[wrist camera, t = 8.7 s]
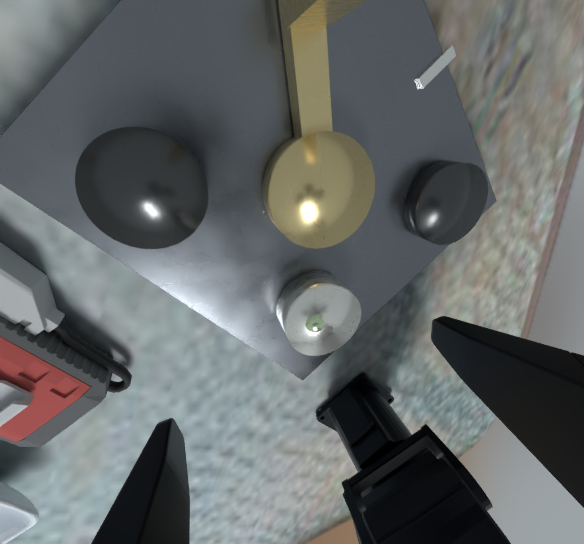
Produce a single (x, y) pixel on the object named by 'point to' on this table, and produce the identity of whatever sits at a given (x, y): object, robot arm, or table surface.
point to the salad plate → (15, 513)
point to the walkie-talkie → (44, 360)
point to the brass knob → (315, 139)
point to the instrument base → (250, 162)
